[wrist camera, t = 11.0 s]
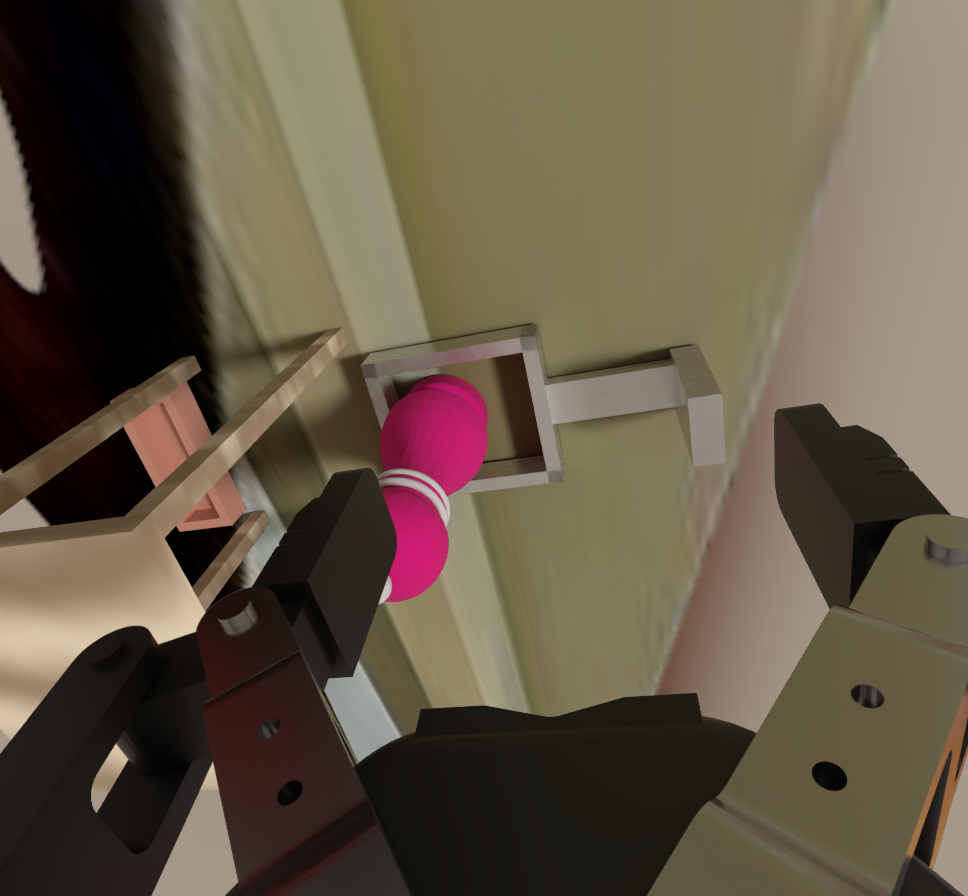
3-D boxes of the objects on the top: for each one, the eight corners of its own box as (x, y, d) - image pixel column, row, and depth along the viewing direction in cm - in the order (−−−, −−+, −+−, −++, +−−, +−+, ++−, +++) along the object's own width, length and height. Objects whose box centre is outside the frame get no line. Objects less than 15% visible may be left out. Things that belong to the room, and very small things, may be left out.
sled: (370, 353, 45) (332, 399, 38) (694, 295, 40) (718, 336, 33) (412, 484, 50) (385, 546, 43) (705, 446, 45) (728, 509, 38)
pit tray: (129, 388, 49) (109, 401, 47) (185, 378, 48) (167, 391, 46) (194, 515, 55) (179, 531, 52) (246, 508, 54) (232, 525, 51)
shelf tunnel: (180, 358, 47) (-137, 564, 26) (342, 327, 44) (131, 531, 23) (257, 523, 54) (54, 792, 33) (402, 506, 51) (280, 788, 30)
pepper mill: (514, 405, 46) (474, 592, 28) (460, 472, 49) (395, 676, 32) (430, 348, 44) (335, 507, 27) (380, 421, 48) (268, 605, 30)
